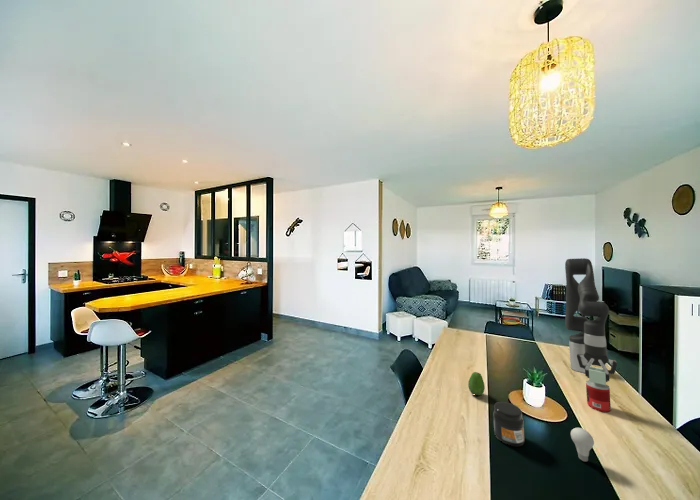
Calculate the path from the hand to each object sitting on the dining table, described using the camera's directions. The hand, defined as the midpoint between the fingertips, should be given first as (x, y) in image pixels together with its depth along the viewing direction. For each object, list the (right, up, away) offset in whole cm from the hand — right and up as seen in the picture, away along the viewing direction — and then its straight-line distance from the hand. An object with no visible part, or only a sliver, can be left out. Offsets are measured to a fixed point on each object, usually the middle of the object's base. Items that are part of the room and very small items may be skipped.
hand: (597, 379), depth 118 cm
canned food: (0, -13, 0) cm, 13 cm away
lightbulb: (-34, -14, -30) cm, 47 cm away
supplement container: (-53, -15, -18) cm, 58 cm away
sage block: (0, -1, 0) cm, 1 cm away
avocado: (-50, -16, +14) cm, 54 cm away
